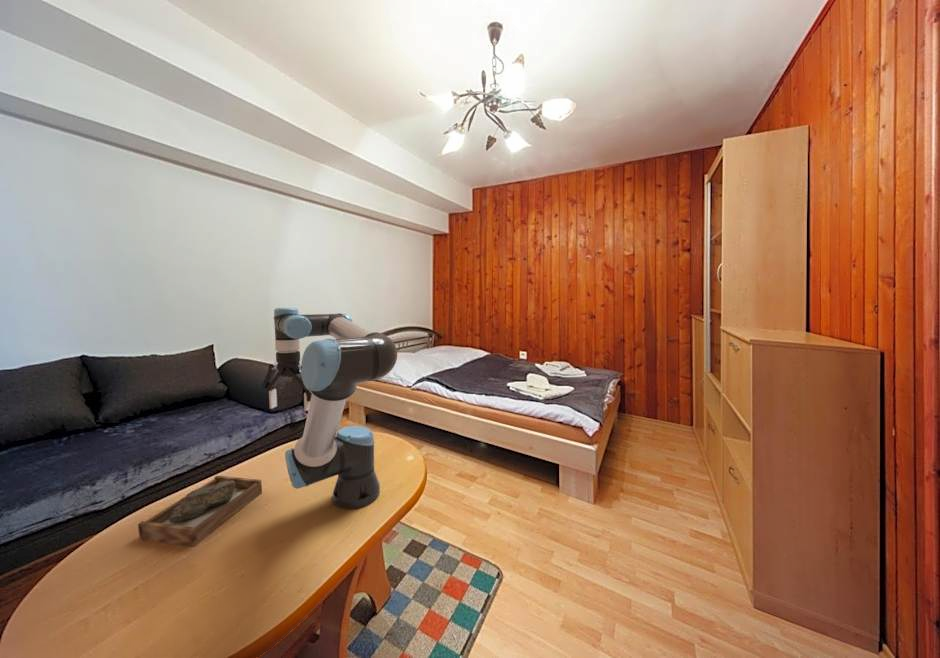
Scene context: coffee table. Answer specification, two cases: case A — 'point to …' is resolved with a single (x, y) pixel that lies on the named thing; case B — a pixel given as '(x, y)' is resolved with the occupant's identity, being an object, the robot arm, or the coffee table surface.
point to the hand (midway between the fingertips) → (290, 408)
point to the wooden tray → (204, 524)
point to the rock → (202, 500)
